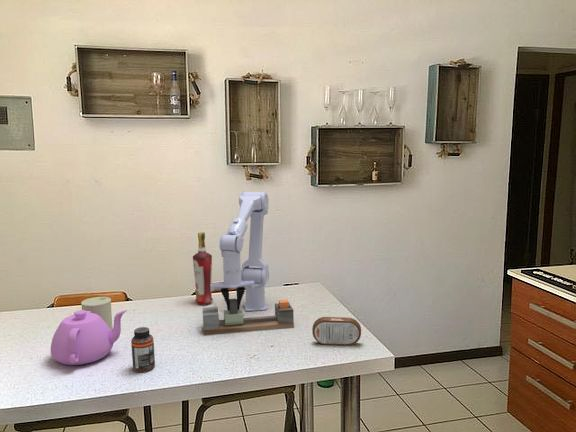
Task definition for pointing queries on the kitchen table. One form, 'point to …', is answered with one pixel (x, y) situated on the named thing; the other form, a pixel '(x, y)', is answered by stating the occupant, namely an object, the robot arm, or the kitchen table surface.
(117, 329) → the teapot
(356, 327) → the tin
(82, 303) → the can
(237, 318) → the carriage
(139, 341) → the supplement bottle
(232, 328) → the rail base
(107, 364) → the kitchen table surface
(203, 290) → the liquor
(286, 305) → the button
